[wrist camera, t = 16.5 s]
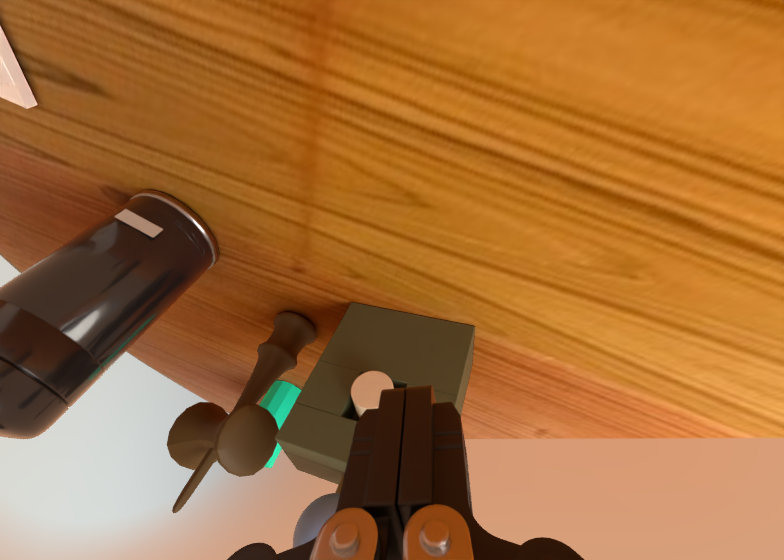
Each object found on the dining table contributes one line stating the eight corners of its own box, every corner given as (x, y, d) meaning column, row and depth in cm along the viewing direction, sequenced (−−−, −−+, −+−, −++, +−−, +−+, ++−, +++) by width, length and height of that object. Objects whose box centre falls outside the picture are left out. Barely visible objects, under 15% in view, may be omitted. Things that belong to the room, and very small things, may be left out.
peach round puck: (360, 366, 29) (343, 402, 27) (399, 375, 28) (384, 414, 26) (365, 382, 31) (349, 418, 29) (402, 392, 30) (388, 429, 28)
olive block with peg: (351, 301, 37) (218, 536, 23) (475, 325, 33) (401, 622, 20) (361, 339, 41) (252, 557, 27) (472, 364, 37) (410, 632, 24)
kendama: (256, 312, 45) (120, 487, 31) (308, 298, 39) (167, 505, 26) (290, 344, 47) (177, 518, 34) (343, 335, 41) (232, 540, 28)
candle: (300, 385, 55) (253, 467, 47) (313, 406, 59) (271, 485, 51) (267, 376, 57) (216, 454, 49) (281, 397, 61) (236, 472, 53)
